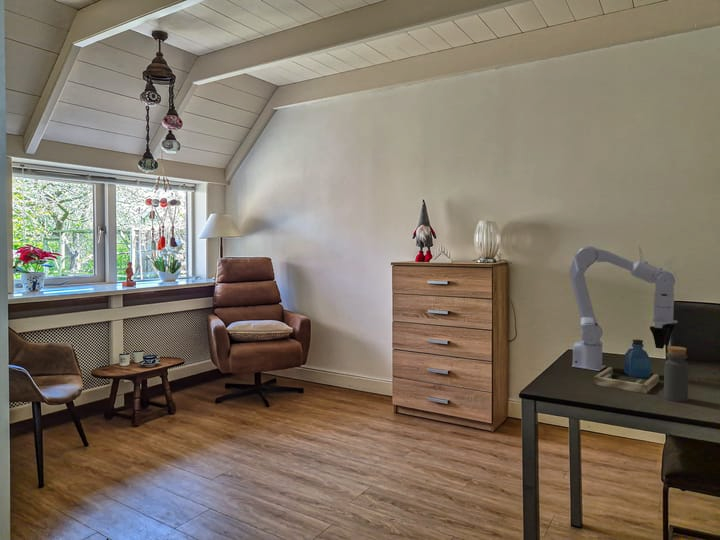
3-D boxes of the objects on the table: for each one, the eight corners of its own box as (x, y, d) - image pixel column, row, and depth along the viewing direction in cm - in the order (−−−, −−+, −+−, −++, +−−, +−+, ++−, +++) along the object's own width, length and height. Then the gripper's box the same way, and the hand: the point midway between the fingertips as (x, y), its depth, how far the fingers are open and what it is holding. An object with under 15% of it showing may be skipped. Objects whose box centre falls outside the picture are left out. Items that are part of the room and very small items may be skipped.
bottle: (659, 396, 146) (660, 345, 146) (677, 395, 147) (679, 345, 146) (673, 402, 140) (674, 350, 140) (692, 401, 141) (694, 349, 140)
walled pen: (593, 384, 159) (593, 376, 159) (609, 373, 171) (609, 367, 171) (646, 393, 149) (646, 385, 148) (658, 381, 161) (658, 374, 161)
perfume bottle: (650, 377, 166) (651, 342, 166) (630, 376, 168) (631, 341, 167) (643, 373, 172) (644, 339, 172) (624, 372, 174) (625, 338, 173)
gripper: (672, 310, 159) (671, 351, 160) (681, 305, 170) (680, 344, 171) (648, 307, 164) (646, 348, 165) (658, 304, 175) (656, 342, 175)
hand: (662, 346), depth 168 cm, fingers open, 7 cm apart
